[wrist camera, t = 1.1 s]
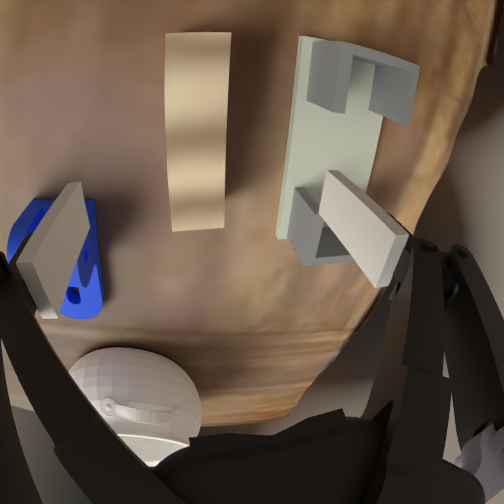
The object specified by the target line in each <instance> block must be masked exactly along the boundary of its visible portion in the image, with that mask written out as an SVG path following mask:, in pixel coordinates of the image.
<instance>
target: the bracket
mask: <svg viewBox="0 0 504 504" xmlns="http://www.w3.org/2000/svg"><path fill="white" fill-rule="evenodd" d="M55 200H56V199H33V200H32V201H31V202H30V204H29V205H28V206H27V207H26V209H25V210H24V211H23V213H22V214H21V215H20V217H19V218H18V219H17V221H16V222H15V223H14V225H13V227H12V229H11V232H10V235H9V239H8V245H7V260H8V264H9V262H10V260H11V259H12V257H13V255H14V254H15V252H16V250H17V248H19V245H20V244H21V242H22V240H23V239H24V238H25V237H26V236H27V235H28V234H29V233H30V232H34V231H35V230H36V228H37V226H38V225H39V223H40V222H41V220H42V219H43V217H44V216H45V214H46V213H47V211H48V210H49V208H50V207H51V206H52V204H53V203H54V201H55ZM84 201H85V206H86V211H87V215H88V220H89V224H90V229H89V232H88V234H87V236H86V239H85V241H84V244H83V246H82V249H81V251H80V254H79V257H78V259H77V262H76V265H75V268H74V270H73V273H72V276H71V279H70V282H69V285H68V288H67V291H66V294H65V297H64V300H63V304H62V307H61V310H60V312H61V313H62V314H64V315H66V316H68V317H71V318H75V319H89V318H92V317H95V316H96V315H97V314H99V312H100V311H101V309H102V305H103V299H104V287H103V280H102V273H101V265H100V256H99V247H98V236H97V224H96V208H95V200H84ZM70 287H78V288H79V293H80V295H77V294H74V293H73V292H72V291H71V289H70Z"/></svg>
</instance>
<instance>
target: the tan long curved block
mask: <svg viewBox="0 0 504 504" xmlns="http://www.w3.org/2000/svg"><path fill="white" fill-rule="evenodd" d="M230 46H231V33H229V32H188V33H168V34H166V43H165V128H166V153H167V171H168V186H169V199H170V211H171V222H172V232H173V231H185V230H199V229H212V228H224V204H225V161H226V130H227V105H228V83H229V64H230Z"/></svg>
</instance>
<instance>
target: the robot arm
mask: <svg viewBox="0 0 504 504" xmlns="http://www.w3.org/2000/svg"><path fill="white" fill-rule="evenodd" d="M318 213H319V214H320V216H321V217H322V218H323V219H324V221H325V222H326V223H327V224H328V226H329V227H330V228H331V230H332V231H333V232H334V233H335V235H336V236H337V237H338V239H339V240H340V241H341V242H342V244H343V245H344V246H345V248H346V249H347V250H348V252H349V253H350V254H351V256H352V257H353V258H354V260H355V261H356V262H357V264H358V265H359V267H360V268H361V269H362V271H363V272H364V273H365V275H366V276H367V278H368V279H369V280H370V282H371V283H372V285H373V286H374V287H375V288H379V287H384V286H388V285H389V283H390V281H391V278H392V276H393V275H394V277H395V278H396V279H397V282H396V285H395V287H394V289H393V291H392V293H391V295H390V297H389V300H391V299H392V304H391V309H390V314H389V320H388V325H387V330H386V334H385V339H384V343H383V347H382V352H381V356H380V360H379V364H378V368H377V371H376V375H375V379H374V383H373V386H372V389H371V393H370V396H369V400H368V403H367V406H366V408H365V411H364V413H363V414H362V416H361V418H358V417H345V414H344V412H343V410H342V408H341V409H338V410H335V411H331V412H328V413H324V414H320V415H317V416H313V417H309V418H307V419H305V420H303V421H301V422H299V423H297V424H295V425H294V426H291V427H290V428H287V429H285V430H283V431H281V432H279V433H277V434H275V435H269V436H268V435H266V436H265V435H247V434H234V433H225V434H219V435H209V436H199V437H189V443H190V446H187V447H184V448H182V449H179V450H177V451H175V452H173V453H172V454H170V455H168V456H167V457H165V458H164V459H163V460H162V461H160V462H159V463H158V464H157V465H156V466H155V467H154V468H153V470H152V469H151V468H150V467H149V466H148V465H147V464H146V463H144V462H143V461H142V460H141V459H140V458H139V457H138V456H137V455H136V454H135V453H134V452H133V451H132V450H131V449H130V448H129V447H128V446H127V445H126V443H125V442H124V441H123V440H122V439H121V438H120V437H119V436H118V435H117V434H116V432H115V431H114V430H113V429H112V428H111V427H110V426H109V424H108V423H107V422H106V421H105V420H104V419H103V417H102V416H101V415H100V414H99V412H98V411H97V410H96V409H95V408H94V406H93V405H92V404H91V402H90V401H89V400H88V399H87V397H86V396H85V395H84V393H83V392H82V391H81V389H80V388H79V386H78V385H77V384H76V382H75V381H74V379H73V378H72V377H71V375H70V374H69V372H68V371H67V369H66V368H65V366H64V365H63V363H62V362H61V360H60V359H59V357H58V356H57V354H56V352H55V351H54V349H53V348H52V346H51V344H50V343H49V341H48V339H47V338H46V336H45V334H44V332H43V331H42V329H41V327H40V325H39V324H38V322H37V320H36V318H35V316H34V315H35V312H36V310H37V309H38V311H39V313H40V315H41V317H42V318H43V319H53V318H58V317H59V314H60V310H61V307H62V304H63V300H64V297H65V294H66V291H67V288H68V285H69V282H70V279H71V276H72V273H73V270H74V268H75V265H76V262H77V259H78V257H79V254H80V251H81V249H82V246H83V244H84V241H85V239H86V236H87V234H88V232H89V229H90V224H89V220H88V215H87V211H86V206H85V201H84V196H83V191H82V186H81V181H79V182H72V183H68V184H67V185H66V186H65V188H64V189H63V190H62V192H61V193H60V194H59V196H58V197H57V199H56V200H55V201H54V203H53V204H52V206H51V207H50V208H49V210H48V211H47V213H46V214H45V216H44V217H43V219H42V220H41V222H40V223H39V225H38V226H37V228H36V230H35V231H34V232H30V233H29V234H28V235H27V236H26V237H25V238H24V239H23V240H22V242H21V244H20V245H19V248H17V250H16V252H15V254H14V255H13V257H12V259H11V260H10V262H9V264H8V262H7V259H6V257H5V255H4V253H3V252H1V251H0V504H43V503H42V501H41V498H40V495H39V493H38V491H37V488H36V486H35V484H34V481H33V478H32V476H31V473H30V471H29V468H28V465H27V462H26V459H25V456H24V453H23V450H22V447H21V444H20V441H19V437H18V434H17V430H16V426H15V422H14V418H13V414H12V410H11V405H10V400H9V395H8V390H7V385H6V379H5V372H4V365H3V357H2V348H1V339H2V341H3V344H4V347H5V349H6V352H7V354H8V356H9V359H10V361H11V364H12V366H13V368H14V370H15V373H16V375H17V377H18V379H19V381H20V383H21V385H22V387H23V389H24V391H25V393H26V395H27V397H28V399H29V401H30V403H31V405H32V407H33V408H34V410H35V412H36V414H37V415H38V417H39V419H40V420H41V422H42V424H43V425H44V427H45V429H46V431H47V432H48V434H49V435H50V437H51V439H52V440H53V442H54V444H55V447H54V451H55V454H56V455H57V457H58V459H59V460H60V462H61V463H62V465H63V466H64V468H65V469H66V470H67V472H68V473H69V474H70V476H71V477H72V478H73V480H74V481H75V482H76V484H77V485H78V486H79V487H80V489H81V490H82V491H83V492H84V494H85V495H86V496H87V497H88V498H89V500H90V501H91V502H92V503H93V504H485V503H486V502H487V501H488V500H490V499H491V498H492V497H494V496H495V495H496V494H498V493H499V492H500V491H501V490H502V489H504V320H503V317H502V315H501V313H500V310H499V308H498V305H497V303H496V301H495V299H494V297H493V295H492V292H491V290H490V288H489V286H488V284H487V282H486V280H485V278H484V276H483V274H482V272H481V270H480V268H479V266H478V264H477V262H476V261H475V259H474V257H473V255H472V254H471V253H470V251H468V250H467V248H465V247H464V246H460V245H457V244H453V245H451V247H450V250H449V252H448V253H446V252H440V251H439V248H438V247H437V246H436V245H435V244H434V243H433V242H431V241H429V240H427V239H424V238H415V237H414V236H413V235H412V234H411V233H410V232H409V231H408V230H407V229H406V228H405V227H404V226H402V224H401V223H400V222H398V221H397V220H396V219H395V218H394V217H393V216H392V215H391V214H389V213H388V212H386V211H384V210H383V209H382V208H381V207H380V206H379V205H378V204H377V203H376V202H375V201H373V200H372V199H371V198H370V197H369V196H368V195H367V194H366V193H364V192H363V191H362V190H361V189H360V188H359V187H358V186H356V185H355V184H354V183H353V182H352V181H351V180H349V179H348V178H347V177H346V176H345V175H343V174H342V173H341V172H340V171H339V170H326V176H325V181H324V187H323V192H322V197H321V202H320V207H319V212H318ZM457 289H458V291H457ZM456 291H457V294H456V293H455V292H456ZM444 352H445V357H446V362H447V367H448V373H449V378H446V377H443V357H444ZM451 392H452V399H453V407H454V415H455V424H456V432H457V437H458V441H459V446H460V449H461V455H460V456H459V457H457V458H456V460H455V463H454V464H452V463H449V462H448V461H446V460H444V459H442V458H443V453H444V447H445V441H446V434H447V428H448V420H449V411H450V401H451Z"/></svg>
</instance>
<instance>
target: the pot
mask: <svg viewBox="0 0 504 504" xmlns="http://www.w3.org/2000/svg"><path fill="white" fill-rule="evenodd" d="M69 374H70V375H71V377H72V378H73V379H74V381H75V382H76V384H77V385H78V386H79V388H80V389H81V391H82V392H83V393H84V395H85V396H86V397H87V399H88V400H89V401H90V402H91V404H92V405H93V406H94V408H95V409H96V410H97V411H98V412H99V414H100V415H101V416H102V417H103V419H104V420H105V421H106V422H107V423H108V424H109V426H110V427H111V428H112V429H113V430H114V431H115V432H116V434H117V435H118V436H119V437H120V438H121V439H122V440H123V441H124V442H125V443H126V445H127V446H128V447H129V448H130V449H131V450H132V451H133V452H134V453H135V454H136V455H137V456H138V457H139V458H140V459H141V460H142V461H143V462H144V463H146V464H147V465H148V466H156V465H157V464H158V463H159V462H160V461H162V460H163V459H164V458H165V457H167V456H168V455H170V454H172V453H173V452H175V451H177V450H179V449H182V448H184V447H187V446H190V443H189V437H197V435H198V433H199V431H200V425H201V418H202V409H201V403H200V398H199V395H198V392H197V389H196V387H195V385H194V383H193V382H192V380H191V379H190V377H189V376H188V375H187V373H186V372H185V371H184V370H183V369H182V368H181V367H179V366H178V365H177V364H176V363H174V362H173V361H171V360H169V359H168V358H166V357H164V356H161V355H159V354H156V353H153V352H149V351H145V350H141V349H134V348H121V347H115V348H104V349H99V350H95V351H93V352H90V353H88V354H86V355H85V356H83V357H82V358H80V359H79V360H77V361H76V362H75V364H74V365H73V366H72V368H71V369H70V370H69Z"/></svg>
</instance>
